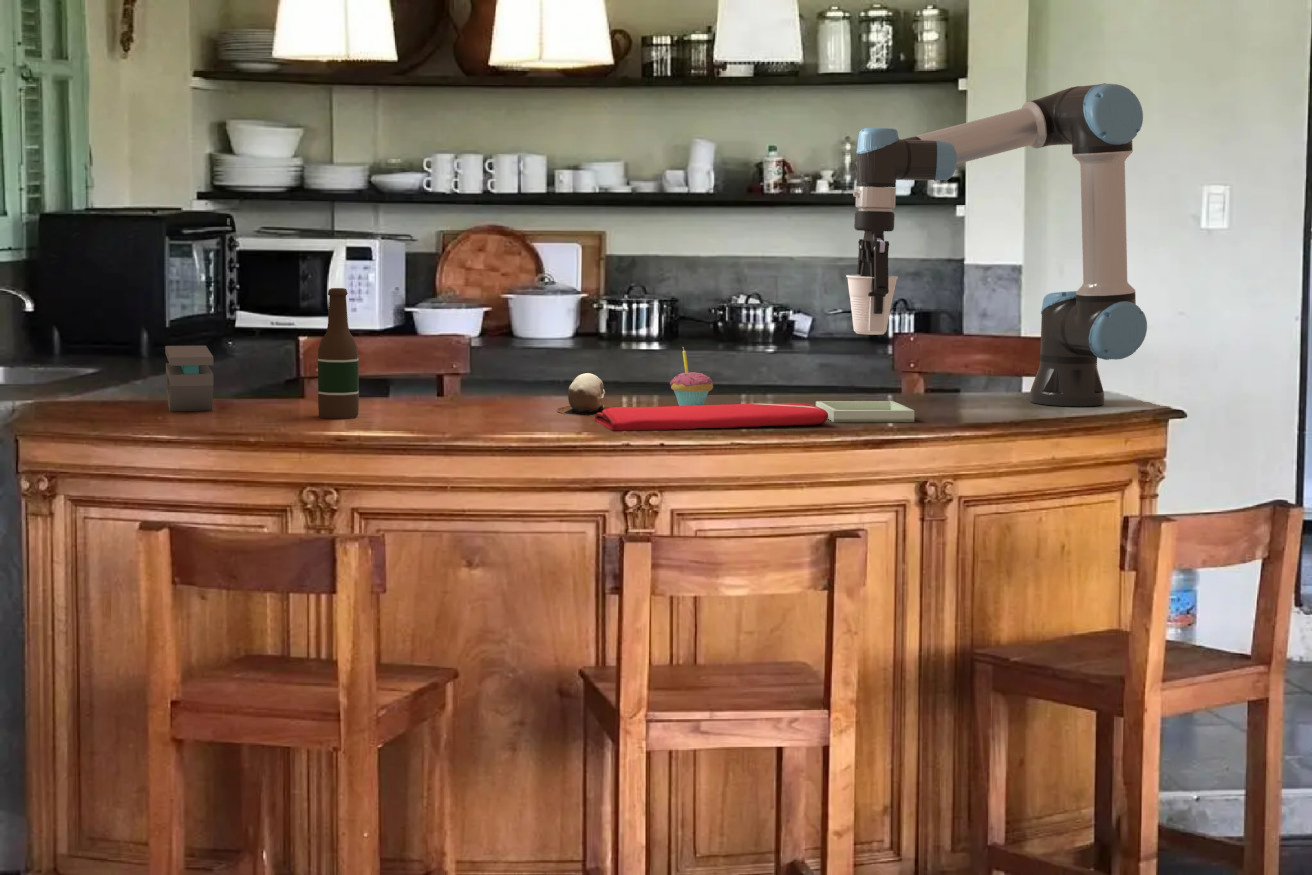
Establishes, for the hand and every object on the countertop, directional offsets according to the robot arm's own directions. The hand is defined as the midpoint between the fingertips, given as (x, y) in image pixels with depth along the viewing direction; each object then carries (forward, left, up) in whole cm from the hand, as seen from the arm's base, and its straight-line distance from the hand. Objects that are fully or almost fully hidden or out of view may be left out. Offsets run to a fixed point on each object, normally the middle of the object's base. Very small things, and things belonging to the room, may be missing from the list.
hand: (870, 329), depth 357 cm
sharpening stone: (+130, -19, -17) cm, 132 cm away
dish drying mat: (+32, +9, -18) cm, 38 cm away
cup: (0, 0, -1) cm, 1 cm away
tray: (+1, 0, -17) cm, 17 cm away
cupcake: (+32, -17, -17) cm, 40 cm away
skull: (+53, -10, -17) cm, 57 cm away
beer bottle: (+101, -3, -17) cm, 102 cm away
